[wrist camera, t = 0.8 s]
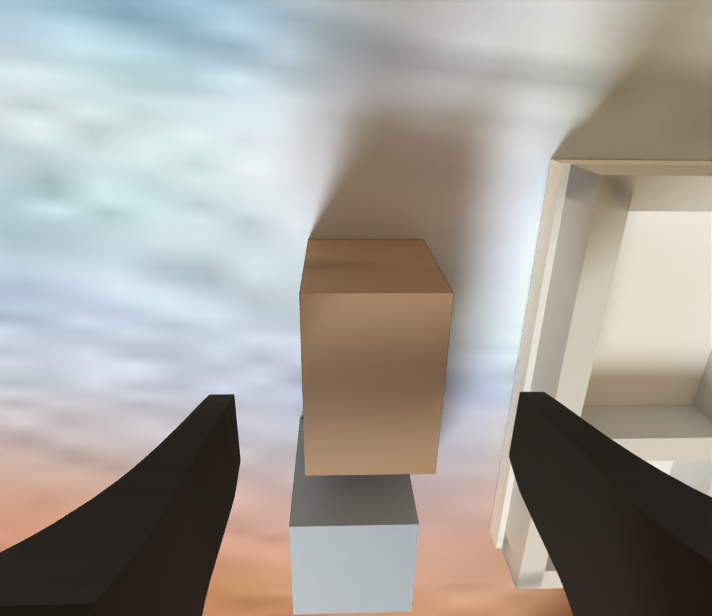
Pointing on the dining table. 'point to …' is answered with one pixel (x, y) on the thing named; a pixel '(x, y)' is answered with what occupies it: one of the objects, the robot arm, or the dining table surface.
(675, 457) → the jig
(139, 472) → the robot arm
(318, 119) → the dining table surface
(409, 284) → the tan cardboard carton
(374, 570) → the grey rectangular prism
